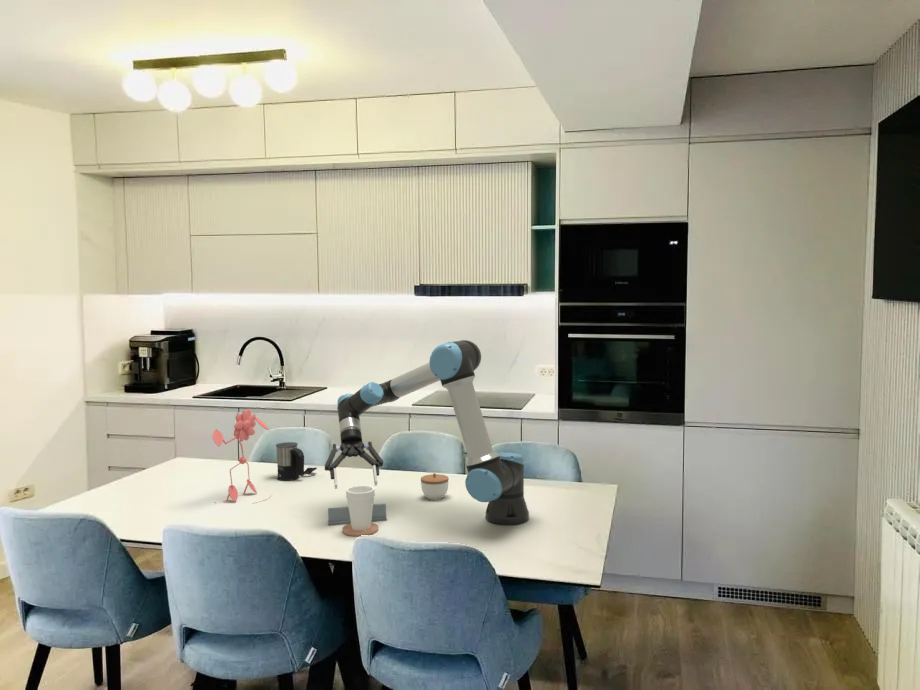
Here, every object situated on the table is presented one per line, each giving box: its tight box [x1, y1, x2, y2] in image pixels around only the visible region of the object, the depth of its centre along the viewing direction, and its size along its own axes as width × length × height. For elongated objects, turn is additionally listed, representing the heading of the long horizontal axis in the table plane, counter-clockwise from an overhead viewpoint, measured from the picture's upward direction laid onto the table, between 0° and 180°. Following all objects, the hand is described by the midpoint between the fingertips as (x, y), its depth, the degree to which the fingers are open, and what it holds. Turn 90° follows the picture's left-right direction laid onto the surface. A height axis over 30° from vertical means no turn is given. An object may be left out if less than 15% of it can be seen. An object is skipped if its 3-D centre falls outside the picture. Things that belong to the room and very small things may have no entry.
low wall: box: [327, 502, 388, 526], centre depth 263 cm, size 20×4×5 cm, turn 103°
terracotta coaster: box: [342, 522, 379, 537], centre depth 253 cm, size 12×12×1 cm
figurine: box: [212, 408, 272, 505], centre depth 290 cm, size 15×26×35 cm, turn 153°
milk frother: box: [275, 441, 318, 481], centre depth 323 cm, size 14×16×15 cm
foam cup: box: [345, 485, 376, 530], centre depth 253 cm, size 10×9×13 cm
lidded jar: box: [420, 472, 449, 501], centre depth 290 cm, size 11×11×9 cm
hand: (356, 485), depth 257 cm, fingers open, 13 cm apart
